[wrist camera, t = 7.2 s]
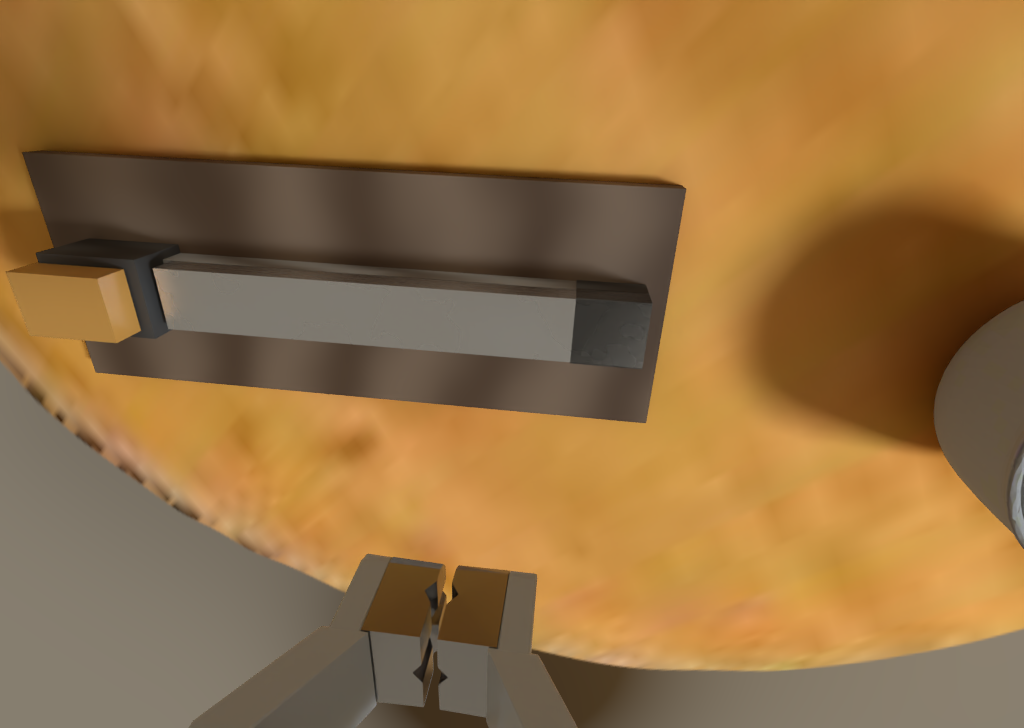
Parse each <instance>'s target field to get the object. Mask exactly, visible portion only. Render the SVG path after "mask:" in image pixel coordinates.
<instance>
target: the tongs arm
mask: <svg viewBox="0 0 1024 728" xmlns="http://www.w3.org/2000/svg"><path fill="white" fill-rule="evenodd" d="M153 272H154V275H155V279H156V283H157V287H158V291H159V295H160V299H161V303H162V306H163V310H164V314H165V318H166V322H167V326H168V329H173V330H185V331H197V332H209V333H221V334H234V335H246V336H258V337H270V338H282V339H294V340H306V341H318V342H330V343H342V344H354V345H366V346H378V347H390V348H402V349H414V350H426V351H438V352H450V353H463V354H475V355H487V356H499V357H511V358H523V359H535V360H547V361H559V362H570V364H582V365H594V366H606V367H618V368H630V369H642V367H643V361H644V355H645V349H646V342H647V336H648V330H649V324H650V317H651V311H652V305H653V303H652V300H651V297H650V295H649V294H643V293H629V292H615V291H601V290H587V289H576V290H571V289H557V288H543V287H529V286H515V285H501V284H487V283H473V282H459V281H445V280H432V279H418V278H404V277H390V276H376V275H362V274H348V273H334V272H320V271H306V270H292V269H278V268H264V267H250V266H236V265H222V264H208V263H194V262H180V261H170V262H167V263H165V264H162V265H160V266H157V267H155V268H153Z"/></svg>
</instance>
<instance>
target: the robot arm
mask: <svg viewBox="0 0 1024 728" xmlns="http://www.w3.org/2000/svg"><path fill="white" fill-rule="evenodd" d="M445 580H446V569H445V565H444V564H438V563H431V562H424V561H417V560H410V559H404V558H397V557H387V556H380V555H373V554H367V555H366V556H365V557H364V558H363V559H362V560H361V562H360V564H359V567H358V569H357V571H356V573H355V575H354V577H353V579H352V581H351V583H350V585H349V587H348V589H347V591H346V593H345V596H344V598H343V600H342V602H341V604H340V606H339V608H338V610H337V612H336V614H335V616H334V618H333V621H332V622H331V625H330V627H324V626H321V627H320V628H318V629H317V630H316V631H315V632H313V633H312V634H310V635H309V636H308V637H306V638H305V639H303V640H302V641H301V642H299V643H298V644H297V645H295V646H294V647H293V648H291V649H290V650H289V651H287V652H286V653H284V654H283V655H282V656H280V657H279V658H278V659H276V660H275V661H274V662H272V663H271V664H270V665H268V666H267V667H265V668H264V669H263V670H262V671H260V672H259V673H257V674H256V675H255V676H253V677H252V678H251V679H249V680H248V681H246V682H245V683H244V684H242V685H241V686H240V687H238V688H237V689H236V690H234V691H233V692H232V693H230V694H229V695H228V696H226V697H225V698H223V699H222V700H221V701H219V702H218V703H217V704H215V705H214V706H213V707H211V708H210V709H209V710H207V711H206V712H205V713H203V714H202V715H200V716H199V717H198V718H196V719H195V720H194V721H193V722H192V723H191V725H190V727H189V728H356V727H357V726H358V724H360V722H361V721H362V720H363V719H364V718H365V717H366V716H367V715H368V714H369V713H370V712H371V710H372V709H373V708H374V707H375V706H376V702H383V703H392V704H402V705H410V706H419V707H424V704H425V700H426V697H427V693H428V689H429V685H430V681H431V678H432V674H433V653H434V652H436V651H438V668H439V669H440V670H441V671H442V673H441V677H440V681H439V703H440V709H441V710H447V711H452V712H458V713H464V714H469V715H476V716H481V717H486V721H487V724H488V726H489V728H577V726H576V724H575V722H574V720H573V718H572V717H571V715H570V713H569V711H568V709H567V707H566V706H565V704H564V702H563V700H562V698H561V696H560V694H559V692H558V690H557V689H556V687H555V685H554V683H553V681H552V680H551V678H550V676H549V674H548V672H547V670H546V668H545V666H544V665H543V663H542V661H541V659H540V657H539V655H537V654H531V648H532V636H533V623H534V611H535V598H536V585H537V574H532V573H523V572H514V571H507V570H498V569H488V568H479V567H469V566H460V565H459V566H458V567H457V569H456V571H455V575H454V578H453V582H452V600H451V601H450V602H449V603H448V604H447V601H446V594H445V593H444V592H443V588H444V584H445Z"/></svg>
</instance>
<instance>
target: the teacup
mask: <svg viewBox="0 0 1024 728" xmlns="http://www.w3.org/2000/svg"><path fill="white" fill-rule="evenodd" d="M934 425H935V430H936V435H937V438H938V441H939V444H940V446H941V449H942V451H943V453H944V455H945V457H946V459H947V460H948V462H949V464H950V465H951V466H952V468H953V469H954V471H955V472H956V473H957V475H958V476H959V477H960V478H961V479H962V481H963V482H964V483H965V484H966V485H967V486H968V487H969V489H970V490H971V491H972V492H973V493H974V494H975V495H976V497H977V498H978V499H979V500H980V501H981V502H982V503H983V504H984V505H985V506H986V507H987V508H988V509H989V510H990V511H991V512H992V513H993V514H994V515H995V516H996V517H997V518H998V519H999V520H1000V521H1001V522H1002V523H1003V524H1004V525H1005V526H1006V527H1007V528H1008V529H1009V530H1010V531H1011V532H1012V533H1013V534H1014V535H1015V537H1016V539H1017V540H1018V542H1019V543H1020V545H1021V546H1022V547H1023V549H1024V300H1023V301H1021V302H1019V303H1017V304H1015V305H1013V306H1011V307H1009V308H1008V309H1006V310H1004V311H1003V312H1001V313H1000V314H998V315H996V316H995V317H994V318H992V319H991V320H990V321H988V322H987V323H985V324H984V325H983V326H982V327H981V328H980V329H978V330H977V331H976V332H975V333H974V334H973V335H972V336H971V337H970V338H969V339H968V340H967V341H966V342H965V343H964V344H963V345H962V346H961V348H960V349H959V350H958V351H957V353H956V354H955V355H954V357H953V358H952V360H951V361H950V363H949V365H948V366H947V368H946V370H945V371H944V374H943V376H942V379H941V381H940V384H939V386H938V389H937V393H936V397H935V405H934Z"/></svg>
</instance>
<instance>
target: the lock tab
mask: <svg viewBox="0 0 1024 728" xmlns="http://www.w3.org/2000/svg"><path fill="white" fill-rule="evenodd" d="M6 275H7V277H8V280H9V283H10V285H11V288H12V290H13V293H14V296H15V298H16V301H17V303H18V306H19V309H20V311H21V314H22V317H23V319H24V322H25V324H26V327H27V330H28V332H29V335H30V336H40V337H51V338H63V339H74V340H86V341H97V342H109V343H118V342H120V341H122V340H124V339H126V338H128V337H130V336H132V335H134V334H136V333H138V332H139V331H141V329H140V325H139V322H138V318H137V315H136V311H135V308H134V304H133V301H132V297H131V293H130V290H129V286H128V283H127V279H126V276H125V272H124V269H114V268H101V267H87V266H74V265H60V264H47V263H34V264H31V265H27V266H24V267H20V268H17V269H14V270H10V271H7V272H6Z"/></svg>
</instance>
